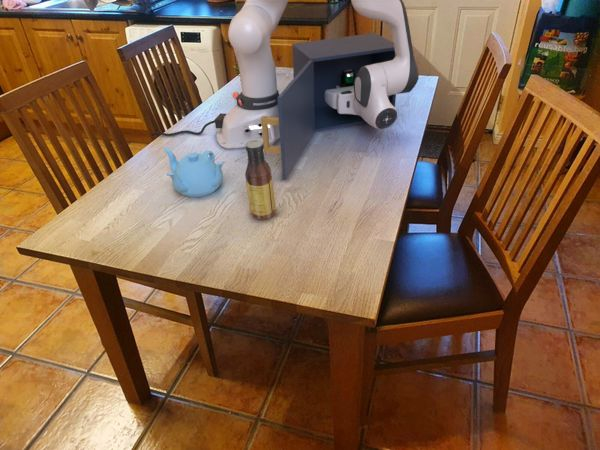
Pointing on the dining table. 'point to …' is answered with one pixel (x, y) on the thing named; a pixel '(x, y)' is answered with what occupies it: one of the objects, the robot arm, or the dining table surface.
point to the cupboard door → (293, 120)
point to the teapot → (195, 173)
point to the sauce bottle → (259, 182)
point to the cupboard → (339, 70)
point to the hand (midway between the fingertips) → (346, 86)
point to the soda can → (347, 78)
